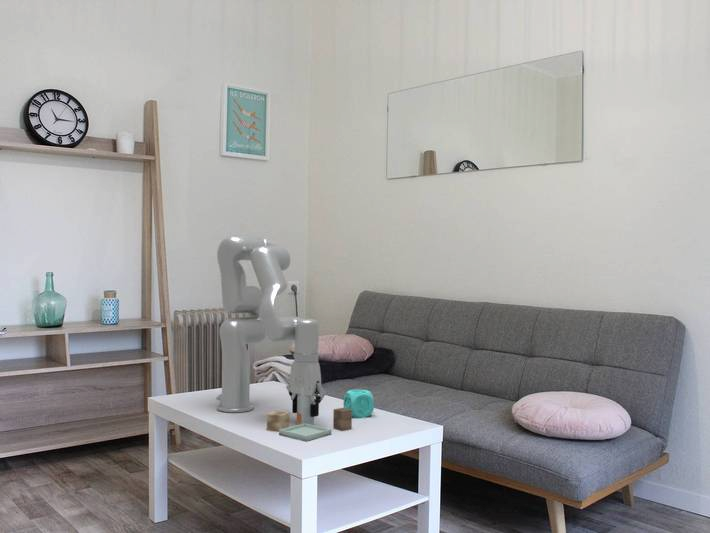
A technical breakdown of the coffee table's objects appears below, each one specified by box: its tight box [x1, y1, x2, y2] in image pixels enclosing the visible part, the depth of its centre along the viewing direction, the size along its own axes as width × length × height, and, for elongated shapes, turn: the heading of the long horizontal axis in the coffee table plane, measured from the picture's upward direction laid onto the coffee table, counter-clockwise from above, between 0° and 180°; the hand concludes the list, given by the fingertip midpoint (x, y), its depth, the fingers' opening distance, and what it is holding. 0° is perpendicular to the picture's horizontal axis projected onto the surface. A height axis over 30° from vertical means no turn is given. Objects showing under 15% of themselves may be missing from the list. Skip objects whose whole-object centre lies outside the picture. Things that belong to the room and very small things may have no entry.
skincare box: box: [296, 389, 315, 425], centre depth 212 cm, size 6×4×12 cm
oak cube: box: [266, 410, 290, 433], centre depth 206 cm, size 5×5×5 cm
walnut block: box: [332, 407, 353, 432], centre depth 208 cm, size 4×4×6 cm
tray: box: [278, 423, 333, 442], centre depth 200 cm, size 11×11×2 cm
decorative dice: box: [343, 389, 375, 419], centre depth 227 cm, size 8×8×8 cm
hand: (305, 414), depth 212 cm, fingers closed on skincare box, 7 cm apart
